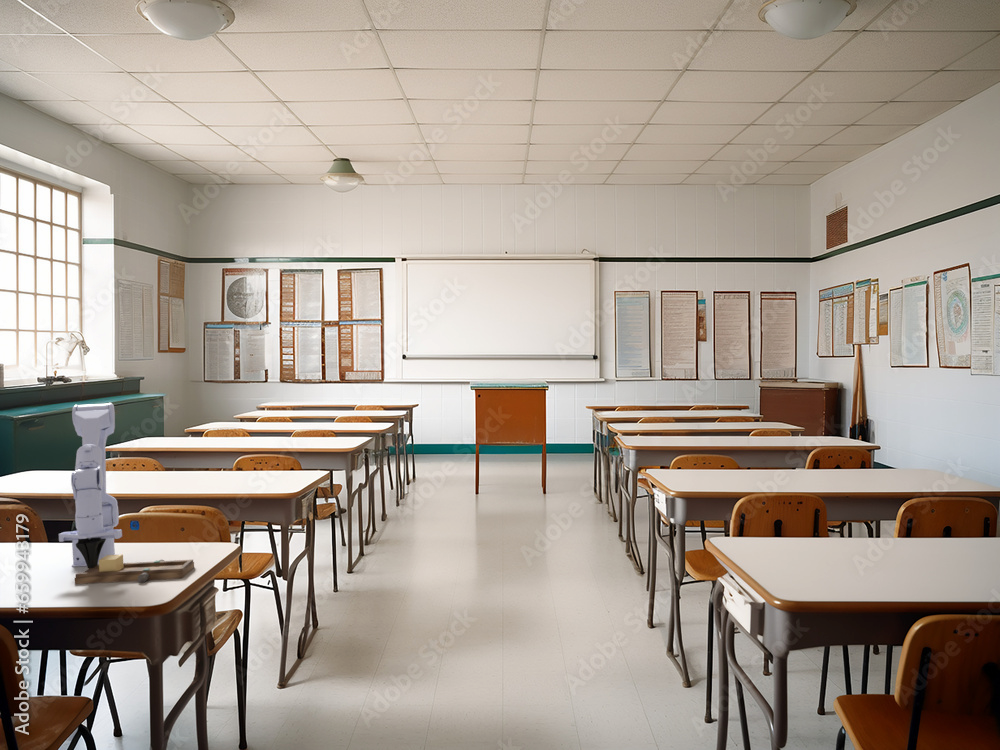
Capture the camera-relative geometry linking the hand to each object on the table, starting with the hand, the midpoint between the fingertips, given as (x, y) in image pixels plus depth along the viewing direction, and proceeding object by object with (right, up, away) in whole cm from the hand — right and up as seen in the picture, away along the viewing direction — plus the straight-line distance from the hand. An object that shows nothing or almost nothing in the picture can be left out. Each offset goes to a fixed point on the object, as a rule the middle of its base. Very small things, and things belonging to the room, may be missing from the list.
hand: (92, 567), depth 168 cm
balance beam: (+11, -3, +1) cm, 11 cm away
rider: (+5, -1, +1) cm, 5 cm away
